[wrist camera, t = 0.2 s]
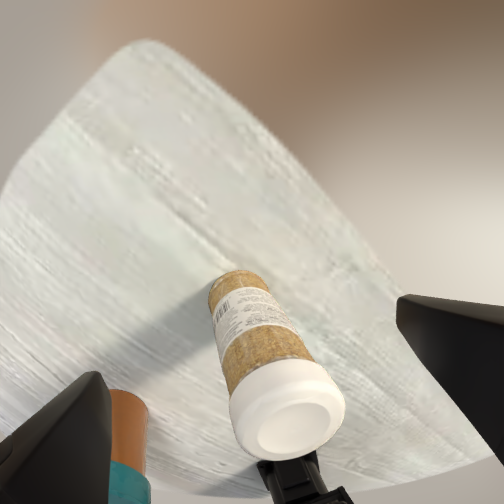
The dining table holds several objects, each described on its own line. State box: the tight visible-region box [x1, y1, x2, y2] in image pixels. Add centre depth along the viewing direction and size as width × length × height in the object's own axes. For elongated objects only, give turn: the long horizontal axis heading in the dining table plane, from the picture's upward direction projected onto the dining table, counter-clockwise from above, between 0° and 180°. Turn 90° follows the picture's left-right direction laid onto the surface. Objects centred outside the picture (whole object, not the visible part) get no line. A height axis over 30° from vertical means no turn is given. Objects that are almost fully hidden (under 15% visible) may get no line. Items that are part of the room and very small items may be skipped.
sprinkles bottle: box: [208, 270, 345, 461], centre depth 17 cm, size 5×5×13 cm
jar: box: [109, 389, 149, 477], centre depth 20 cm, size 5×5×11 cm
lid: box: [108, 460, 151, 504], centre depth 15 cm, size 6×6×3 cm
